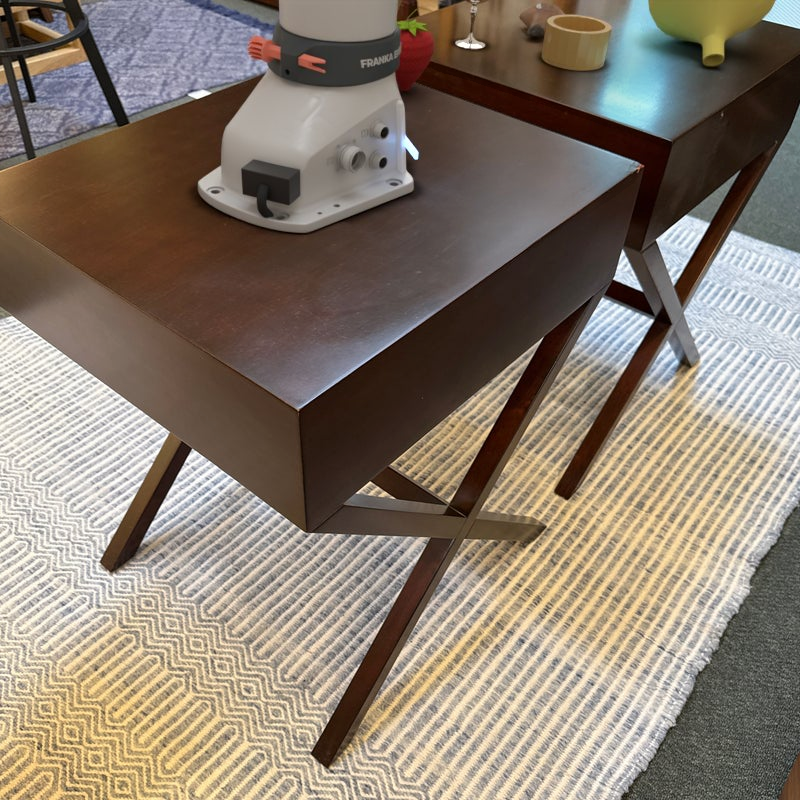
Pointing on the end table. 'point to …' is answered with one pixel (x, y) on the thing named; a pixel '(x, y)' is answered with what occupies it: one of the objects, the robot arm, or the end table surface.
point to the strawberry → (413, 52)
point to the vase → (708, 21)
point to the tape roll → (576, 42)
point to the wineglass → (470, 41)
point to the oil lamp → (539, 18)
